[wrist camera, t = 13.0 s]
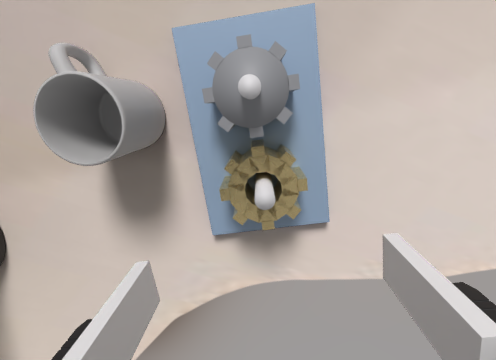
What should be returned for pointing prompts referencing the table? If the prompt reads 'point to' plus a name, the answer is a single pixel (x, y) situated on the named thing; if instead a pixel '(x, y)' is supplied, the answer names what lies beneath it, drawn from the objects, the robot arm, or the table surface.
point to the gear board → (274, 132)
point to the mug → (94, 111)
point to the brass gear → (284, 190)
